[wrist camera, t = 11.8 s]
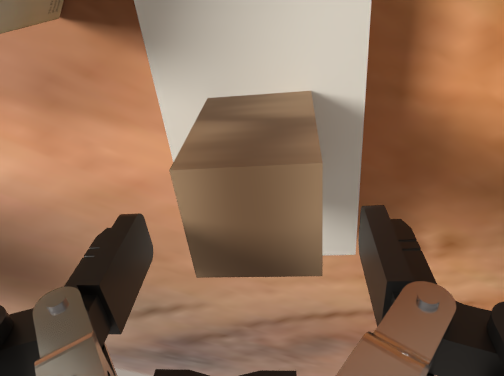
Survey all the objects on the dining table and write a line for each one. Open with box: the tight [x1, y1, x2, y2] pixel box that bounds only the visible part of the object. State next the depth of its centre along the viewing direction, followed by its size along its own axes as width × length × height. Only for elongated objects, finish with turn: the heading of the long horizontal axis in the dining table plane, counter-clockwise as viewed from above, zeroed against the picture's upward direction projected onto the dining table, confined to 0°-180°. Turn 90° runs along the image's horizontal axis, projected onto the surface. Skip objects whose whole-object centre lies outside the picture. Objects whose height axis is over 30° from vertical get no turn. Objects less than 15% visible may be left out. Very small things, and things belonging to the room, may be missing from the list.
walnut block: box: [169, 91, 323, 278], centre depth 16 cm, size 5×5×7 cm
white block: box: [134, 0, 371, 255], centre depth 21 cm, size 10×16×4 cm, turn 6°
